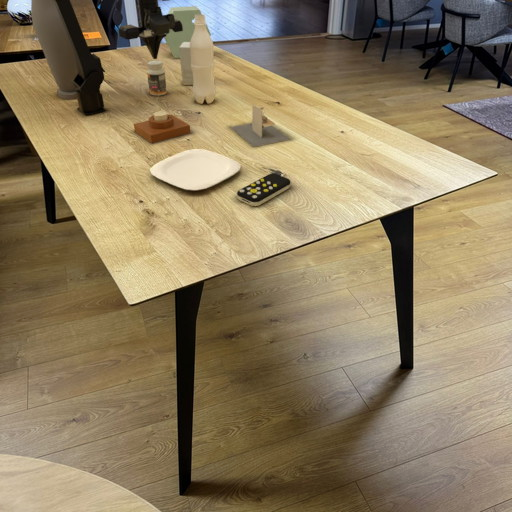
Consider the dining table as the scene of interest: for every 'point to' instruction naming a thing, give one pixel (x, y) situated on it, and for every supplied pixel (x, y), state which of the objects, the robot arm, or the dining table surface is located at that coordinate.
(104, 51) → the dining table surface
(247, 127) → the architectural model
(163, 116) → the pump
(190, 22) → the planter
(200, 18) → the water bottle
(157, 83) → the pill bottle
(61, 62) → the vase
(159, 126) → the base
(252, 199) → the remote control
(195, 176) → the plate
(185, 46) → the light grey tall block
